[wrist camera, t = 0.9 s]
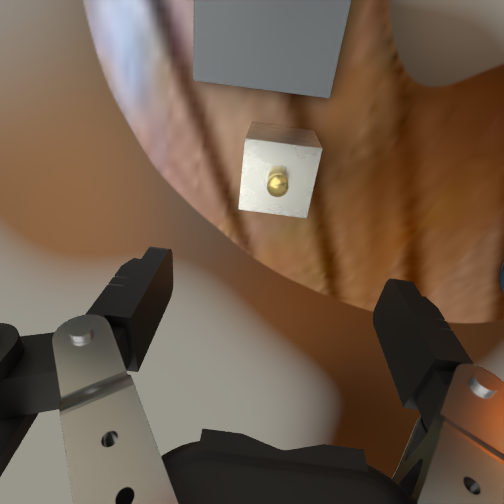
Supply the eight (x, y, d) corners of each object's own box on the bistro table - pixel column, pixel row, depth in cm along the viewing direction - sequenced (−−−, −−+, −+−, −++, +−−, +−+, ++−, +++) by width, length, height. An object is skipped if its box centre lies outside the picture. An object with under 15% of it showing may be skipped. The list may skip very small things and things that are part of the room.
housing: (313, 129, 25) (324, 153, 19) (301, 188, 28) (307, 225, 21) (252, 121, 25) (243, 142, 19) (245, 181, 28) (236, 216, 21)
